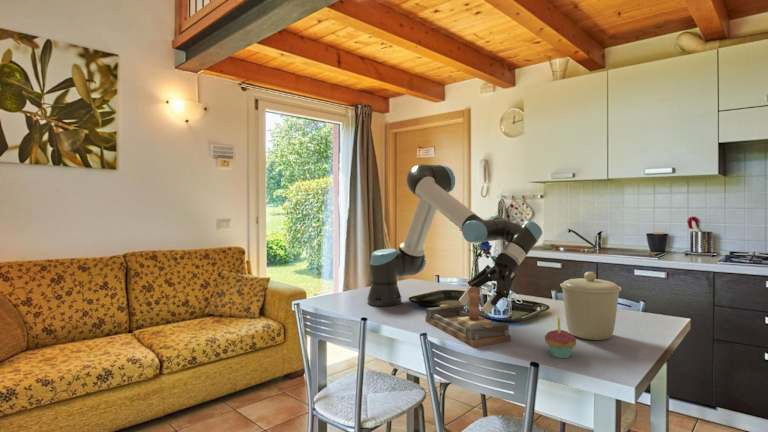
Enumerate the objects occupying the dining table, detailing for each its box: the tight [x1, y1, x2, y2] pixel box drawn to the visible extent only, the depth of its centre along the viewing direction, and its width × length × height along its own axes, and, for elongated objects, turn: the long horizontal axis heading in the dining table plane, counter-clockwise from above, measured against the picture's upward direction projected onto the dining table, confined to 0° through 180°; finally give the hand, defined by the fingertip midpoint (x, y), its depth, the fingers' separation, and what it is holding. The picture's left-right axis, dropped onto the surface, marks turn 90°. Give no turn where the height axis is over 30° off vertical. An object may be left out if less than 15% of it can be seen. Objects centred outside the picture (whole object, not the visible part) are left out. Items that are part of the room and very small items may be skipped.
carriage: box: [457, 286, 492, 328], centre depth 145 cm, size 8×8×14 cm
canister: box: [559, 271, 622, 341], centre depth 143 cm, size 18×18×21 cm
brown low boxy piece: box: [424, 304, 512, 348], centre depth 151 cm, size 32×14×6 cm, turn 22°
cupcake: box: [544, 315, 577, 359], centre depth 126 cm, size 9×8×12 cm
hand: (472, 307), depth 145 cm, fingers open, 13 cm apart
